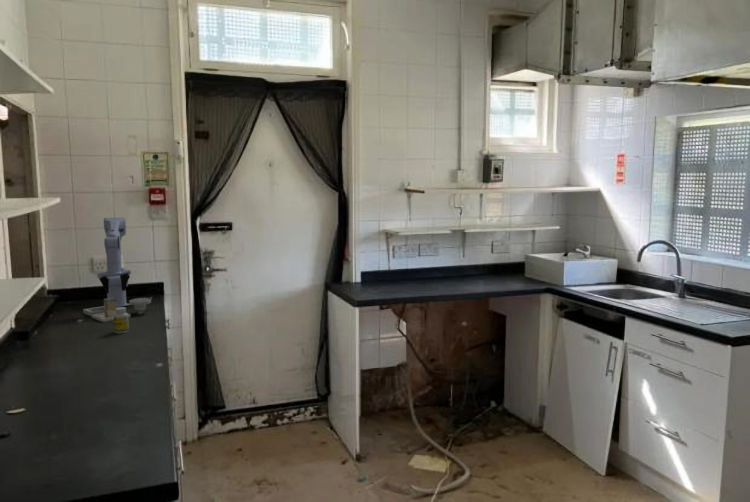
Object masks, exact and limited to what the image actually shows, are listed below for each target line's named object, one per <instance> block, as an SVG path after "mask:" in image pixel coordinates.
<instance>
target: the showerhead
mask: <svg viewBox="0 0 750 502" xmlns="http://www.w3.org/2000/svg"><path fill="white" fill-rule="evenodd" d="M152 299H153V297H136V298H132V299H130V300H128V301H129V302H128V304H130V305H129V306H134V310H135V311H136V312H138V313H137V314H138V315H142V314H144V311H145V310H146V309H147V305H149V304H151V303H152Z"/></svg>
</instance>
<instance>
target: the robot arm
mask: <svg viewBox="0 0 750 502" xmlns="http://www.w3.org/2000/svg"><path fill="white" fill-rule="evenodd" d="M103 228H104V233H105V238H104V240H103V241H104V242H103V244H104V249H105V250H104V251H105V254H106V256H105V257H106V269H107V270H106V272H101V273H97V274H96V276H97V279H98V280H99V281H100V283H101V285H102V287H103V289H104V293H105V294H106V296H107V297H106V299H108V298H115V299H117V308H119V307H125V306H126V307H127V306H131V305H130V304H129V302H128V303H127V292H126V291H127V290H126V288H127V287H128V286H129V279H130V276H131V274H132V273H131V270H130V269H125V268H123V267H122V243H121V242H122V238H123V236H126V233H127V221H126V217H125V216H124V217H104V218H103Z"/></svg>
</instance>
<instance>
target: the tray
mask: <svg viewBox="0 0 750 502" xmlns="http://www.w3.org/2000/svg"><path fill="white" fill-rule="evenodd" d="M130 318H131V314H130V313H128V319H130ZM91 319H94V320H96V321H98V322H101V323H103V324H104V323H109V322H114V317H110V318H107V317H105V313H99V314H93V315H92V317H91Z"/></svg>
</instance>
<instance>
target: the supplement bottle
mask: <svg viewBox="0 0 750 502" xmlns="http://www.w3.org/2000/svg"><path fill="white" fill-rule="evenodd" d="M115 312H116V314H114V321H113V326H114V327H113V328H114V333H115V334H126V333H128V332H129V331H130V326H129V325H130V323H129V322H130V321H129V318H128V314H129V313H127V307H125V306H121V307H117V308H116V309H115Z"/></svg>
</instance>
